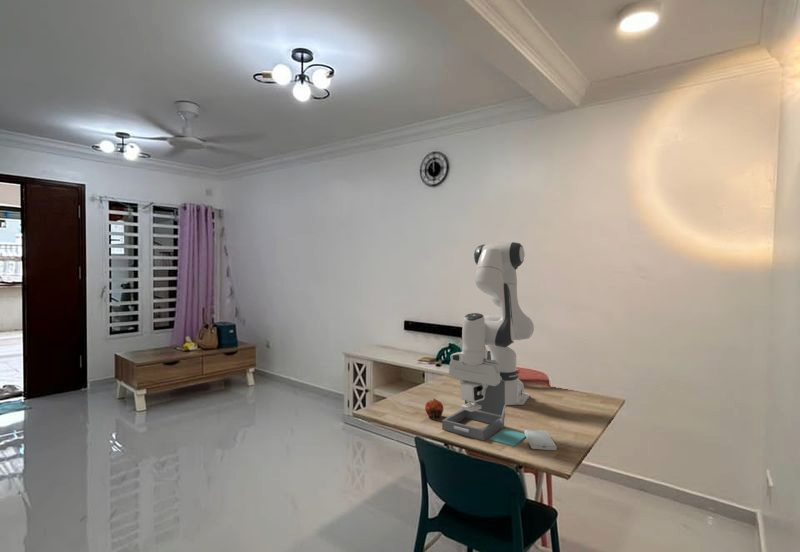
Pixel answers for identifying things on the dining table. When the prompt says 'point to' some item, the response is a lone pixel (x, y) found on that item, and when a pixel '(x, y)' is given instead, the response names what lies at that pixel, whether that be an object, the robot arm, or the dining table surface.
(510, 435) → the teal mat
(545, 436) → the hard drive
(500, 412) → the equipment case
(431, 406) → the pomegranate
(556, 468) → the dining table surface
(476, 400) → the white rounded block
